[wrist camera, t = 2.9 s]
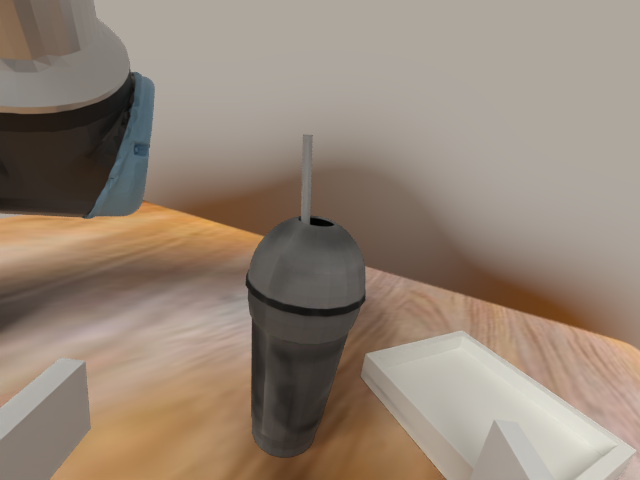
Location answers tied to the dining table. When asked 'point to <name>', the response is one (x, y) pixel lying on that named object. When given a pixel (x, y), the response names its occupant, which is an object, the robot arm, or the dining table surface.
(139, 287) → the dining table surface
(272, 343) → the beverage cup
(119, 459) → the dining table surface
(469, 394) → the tray
